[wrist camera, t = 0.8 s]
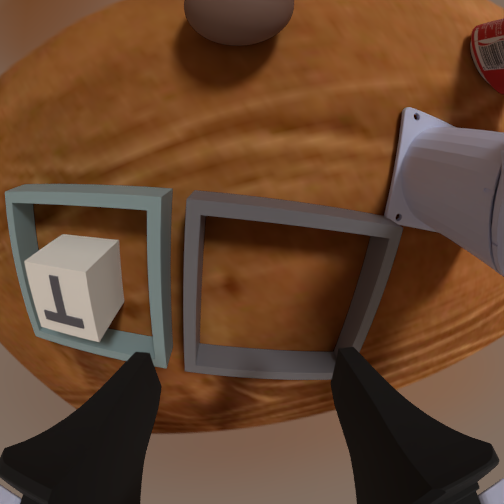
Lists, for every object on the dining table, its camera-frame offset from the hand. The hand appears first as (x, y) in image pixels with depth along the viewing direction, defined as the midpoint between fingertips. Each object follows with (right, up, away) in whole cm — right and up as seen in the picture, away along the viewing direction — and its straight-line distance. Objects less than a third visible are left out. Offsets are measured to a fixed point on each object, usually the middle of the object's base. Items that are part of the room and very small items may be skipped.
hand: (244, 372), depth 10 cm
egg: (0, +19, +3) cm, 19 cm away
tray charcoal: (+2, +2, +10) cm, 10 cm away
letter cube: (-12, +3, +9) cm, 15 cm away
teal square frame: (-12, +3, +9) cm, 15 cm away
